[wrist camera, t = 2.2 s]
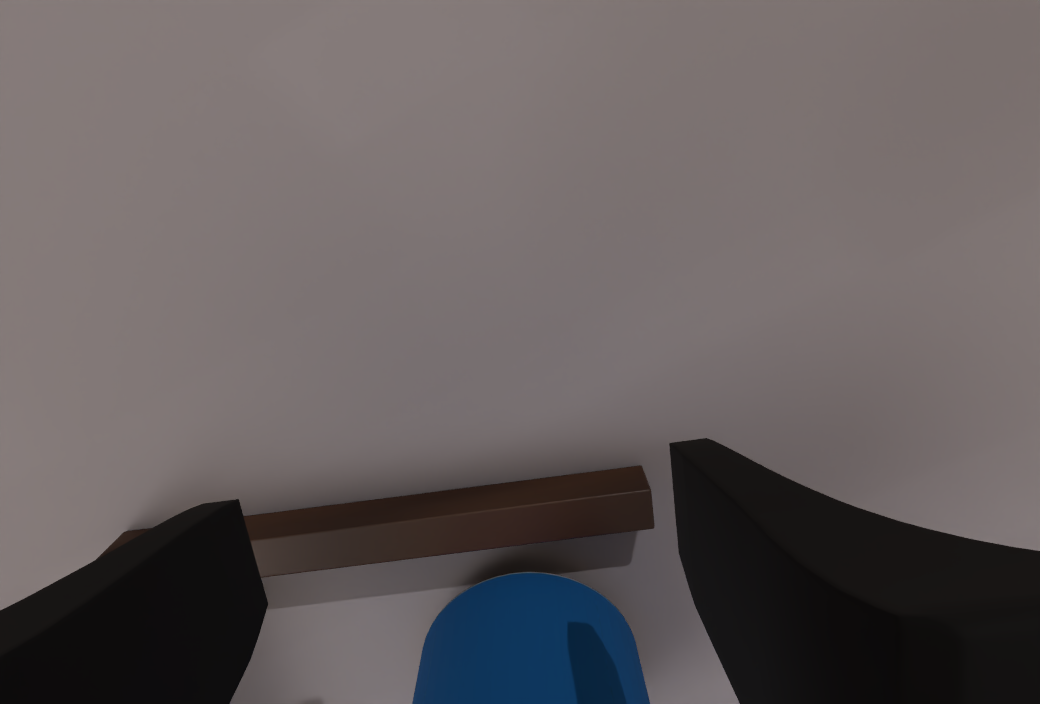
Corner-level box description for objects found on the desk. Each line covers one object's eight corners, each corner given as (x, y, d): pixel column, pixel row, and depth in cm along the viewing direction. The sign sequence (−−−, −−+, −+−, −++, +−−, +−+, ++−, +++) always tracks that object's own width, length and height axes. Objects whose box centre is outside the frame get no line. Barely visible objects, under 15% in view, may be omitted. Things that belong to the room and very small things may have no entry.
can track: (641, 464, 20) (658, 507, 18) (672, 777, 23) (690, 849, 21) (123, 530, 21) (72, 581, 18) (223, 827, 24) (190, 903, 22)
